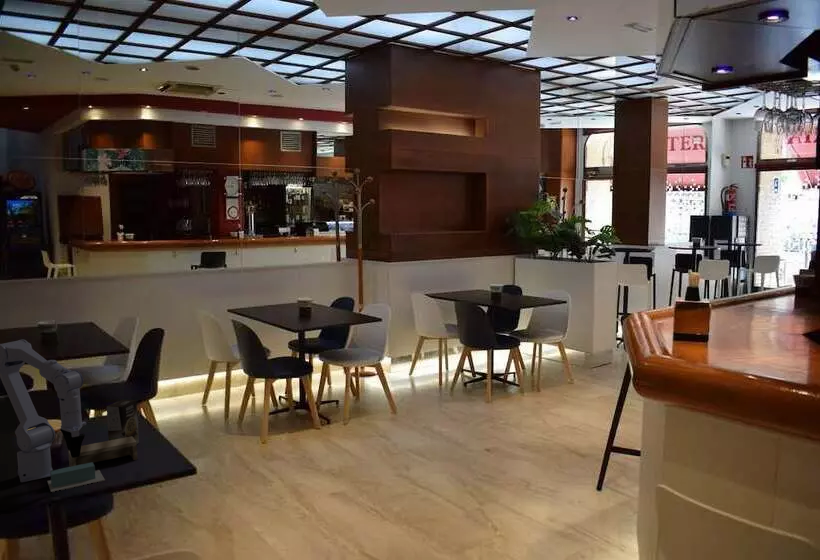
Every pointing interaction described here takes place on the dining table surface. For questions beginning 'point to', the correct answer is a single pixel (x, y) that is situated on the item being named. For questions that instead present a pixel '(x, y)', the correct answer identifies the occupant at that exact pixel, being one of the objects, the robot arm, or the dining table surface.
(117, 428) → the coffee box
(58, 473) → the block
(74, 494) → the dining table surface
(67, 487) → the mat
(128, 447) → the shelf
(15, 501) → the dining table surface
